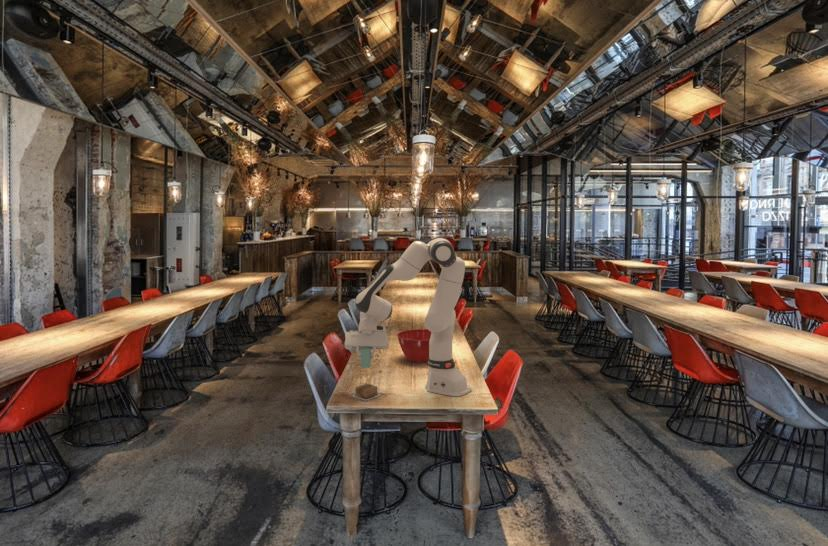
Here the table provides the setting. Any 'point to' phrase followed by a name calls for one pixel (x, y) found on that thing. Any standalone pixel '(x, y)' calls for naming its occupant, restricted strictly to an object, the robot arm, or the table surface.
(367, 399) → the board
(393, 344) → the table surface
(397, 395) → the table surface
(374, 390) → the base block
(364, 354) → the pillar
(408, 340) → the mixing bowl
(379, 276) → the robot arm
